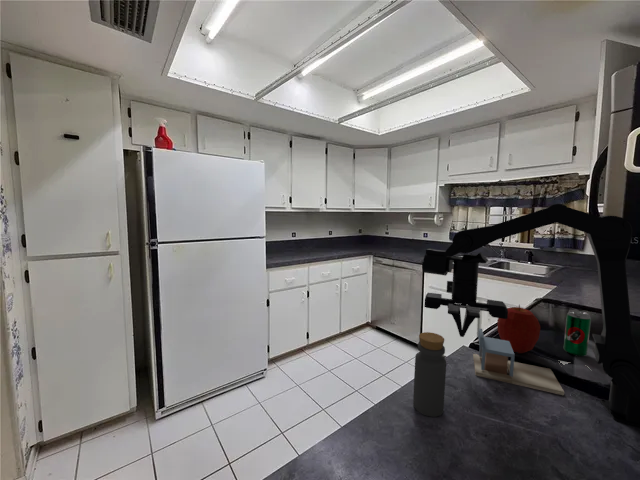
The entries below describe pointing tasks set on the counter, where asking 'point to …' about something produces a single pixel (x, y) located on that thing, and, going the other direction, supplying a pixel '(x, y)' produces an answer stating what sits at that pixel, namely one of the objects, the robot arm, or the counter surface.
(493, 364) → the block
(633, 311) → the counter surface
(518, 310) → the apple
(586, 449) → the counter surface
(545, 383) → the board
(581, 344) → the soda can
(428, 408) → the bottle
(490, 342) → the light blue toy chair
